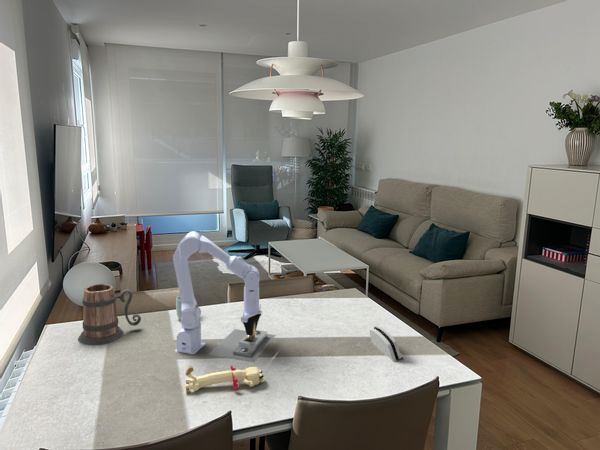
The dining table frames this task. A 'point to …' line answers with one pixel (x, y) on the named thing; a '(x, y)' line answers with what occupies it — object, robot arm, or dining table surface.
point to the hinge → (385, 343)
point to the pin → (252, 334)
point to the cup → (178, 307)
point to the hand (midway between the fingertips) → (251, 333)
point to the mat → (232, 343)
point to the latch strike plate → (250, 344)
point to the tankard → (103, 315)
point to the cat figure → (224, 378)
